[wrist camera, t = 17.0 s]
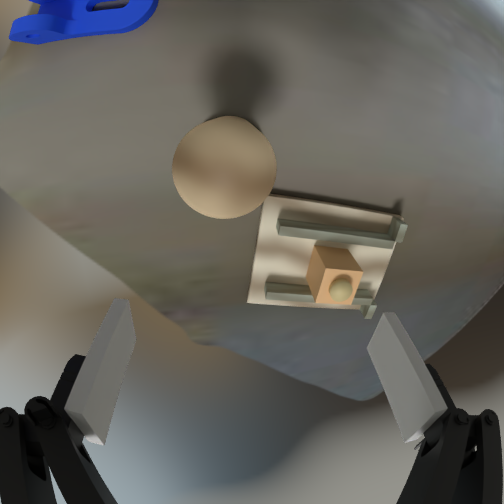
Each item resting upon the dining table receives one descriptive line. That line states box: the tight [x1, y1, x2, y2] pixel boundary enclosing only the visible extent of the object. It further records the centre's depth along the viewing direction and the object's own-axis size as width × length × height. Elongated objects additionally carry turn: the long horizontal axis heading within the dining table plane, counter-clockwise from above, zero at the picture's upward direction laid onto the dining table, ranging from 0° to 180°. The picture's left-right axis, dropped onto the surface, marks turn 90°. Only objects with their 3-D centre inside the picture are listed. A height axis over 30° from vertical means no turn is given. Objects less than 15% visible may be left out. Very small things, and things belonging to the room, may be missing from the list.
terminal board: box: [247, 194, 408, 319], centre depth 39 cm, size 16×20×4 cm
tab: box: [306, 245, 363, 305], centre depth 36 cm, size 5×5×7 cm
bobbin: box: [172, 116, 277, 219], centre depth 27 cm, size 8×8×13 cm
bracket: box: [9, 0, 158, 44], centre depth 18 cm, size 18×8×9 cm, turn 79°
